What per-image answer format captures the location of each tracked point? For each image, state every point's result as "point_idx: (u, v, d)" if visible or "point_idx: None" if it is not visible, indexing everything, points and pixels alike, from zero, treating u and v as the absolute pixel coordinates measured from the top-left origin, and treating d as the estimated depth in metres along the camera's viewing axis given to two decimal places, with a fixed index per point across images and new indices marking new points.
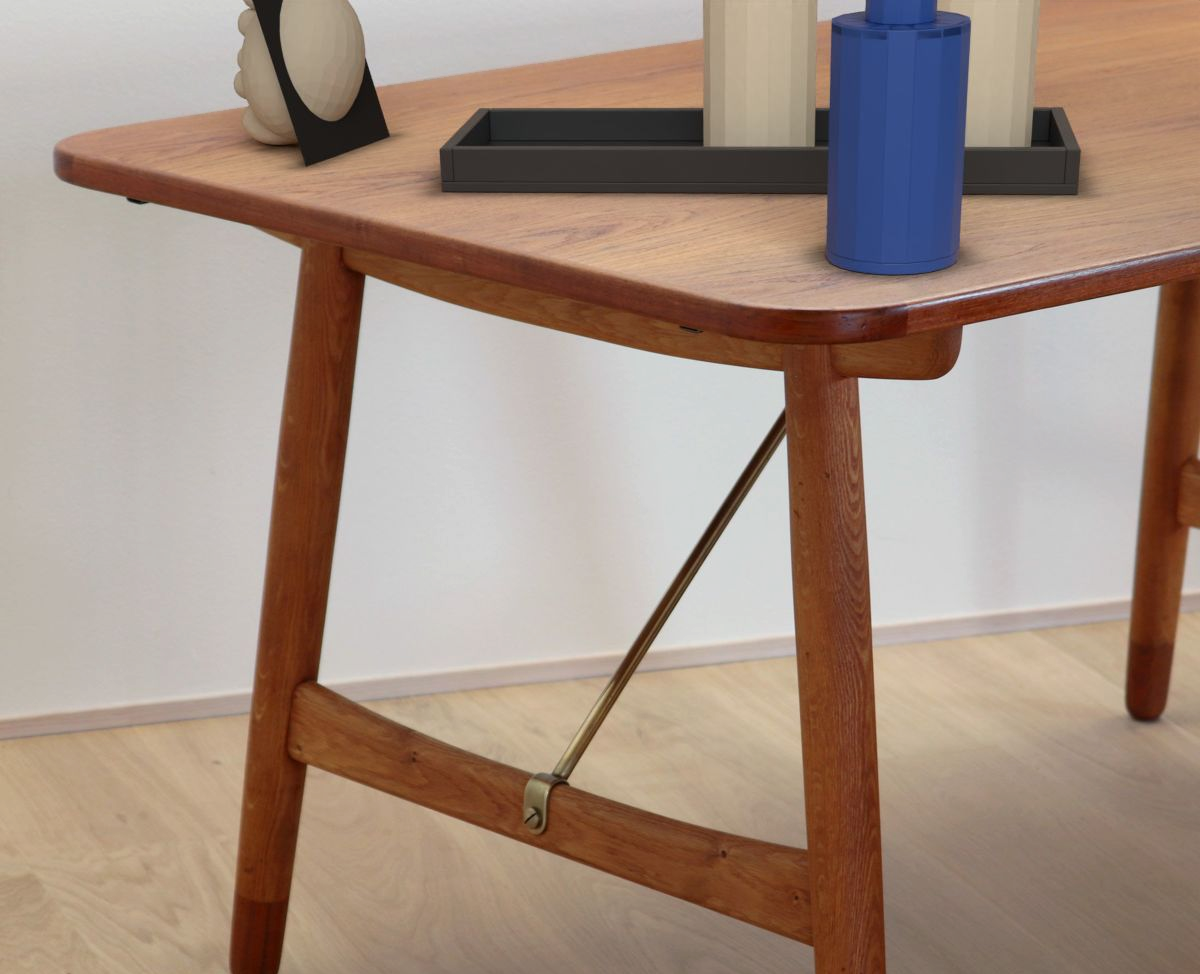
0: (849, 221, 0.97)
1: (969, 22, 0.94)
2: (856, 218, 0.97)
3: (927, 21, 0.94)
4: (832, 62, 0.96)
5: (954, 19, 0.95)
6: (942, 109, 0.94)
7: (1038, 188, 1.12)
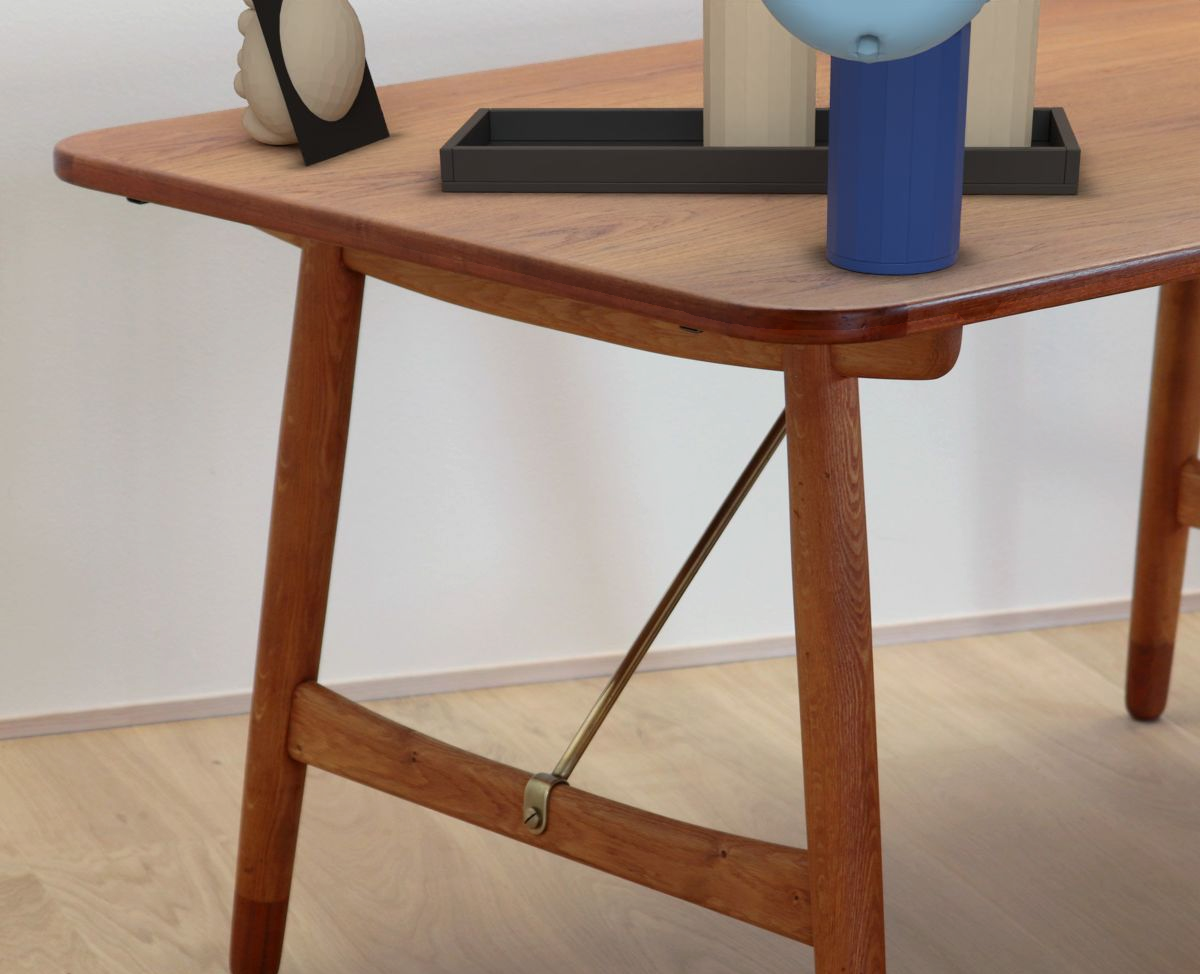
0: (849, 221, 0.97)
1: (969, 22, 0.94)
2: (856, 218, 0.97)
3: None
4: (832, 62, 0.96)
5: None
6: (942, 109, 0.94)
7: (1038, 188, 1.12)
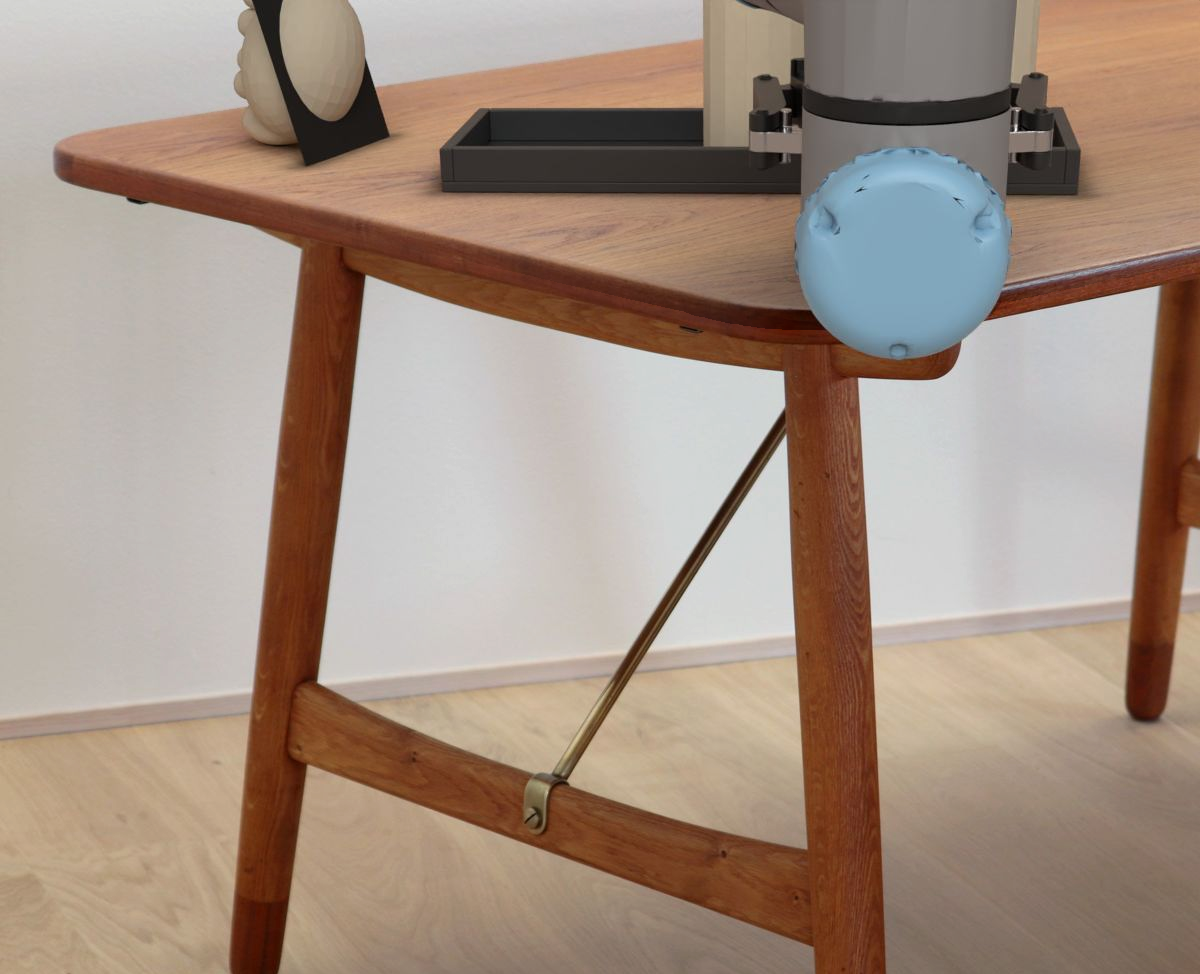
0: None
1: None
2: None
3: None
4: None
5: None
6: None
7: (1038, 188, 1.12)
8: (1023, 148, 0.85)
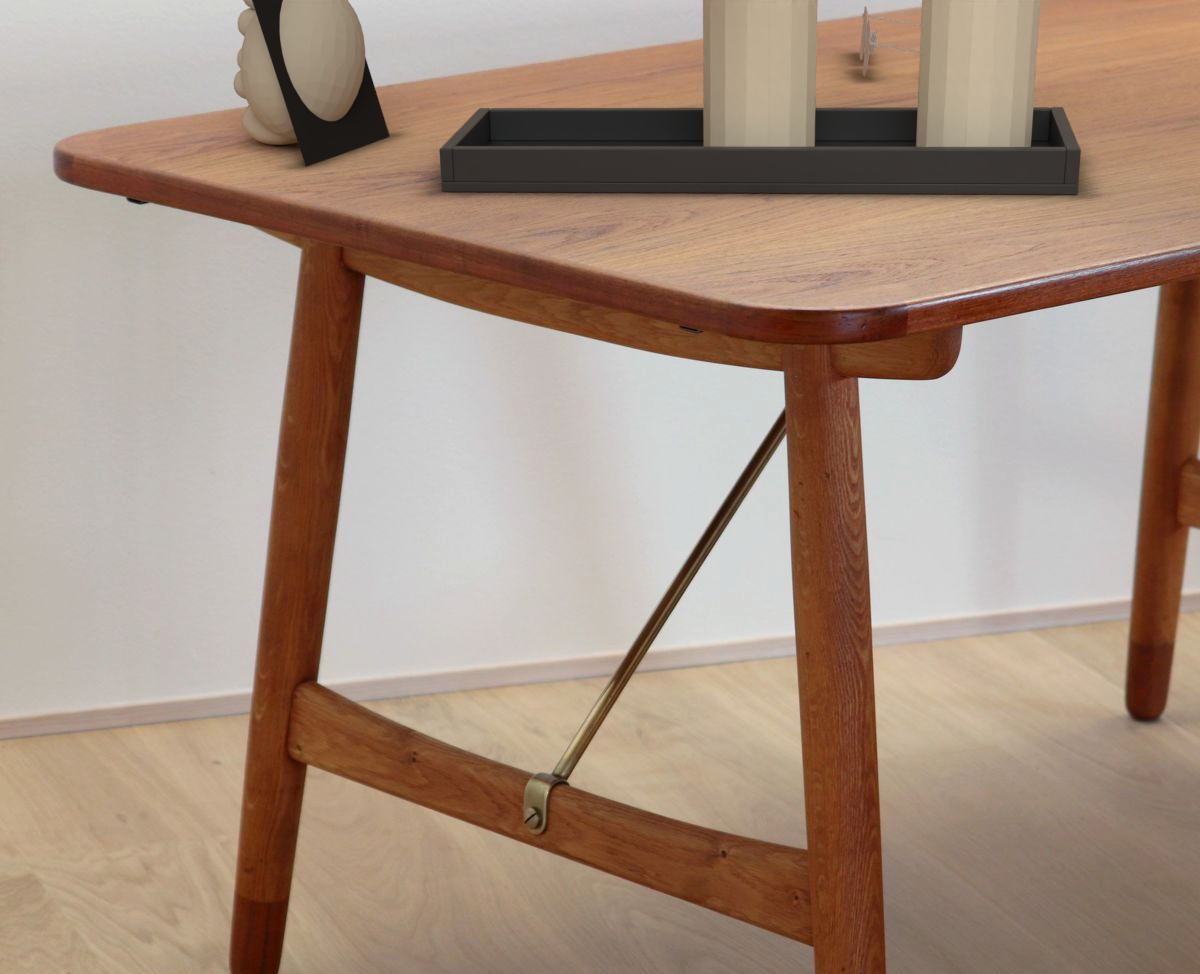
0: None
1: None
2: None
3: None
4: None
5: None
6: None
7: (1038, 188, 1.12)
8: None
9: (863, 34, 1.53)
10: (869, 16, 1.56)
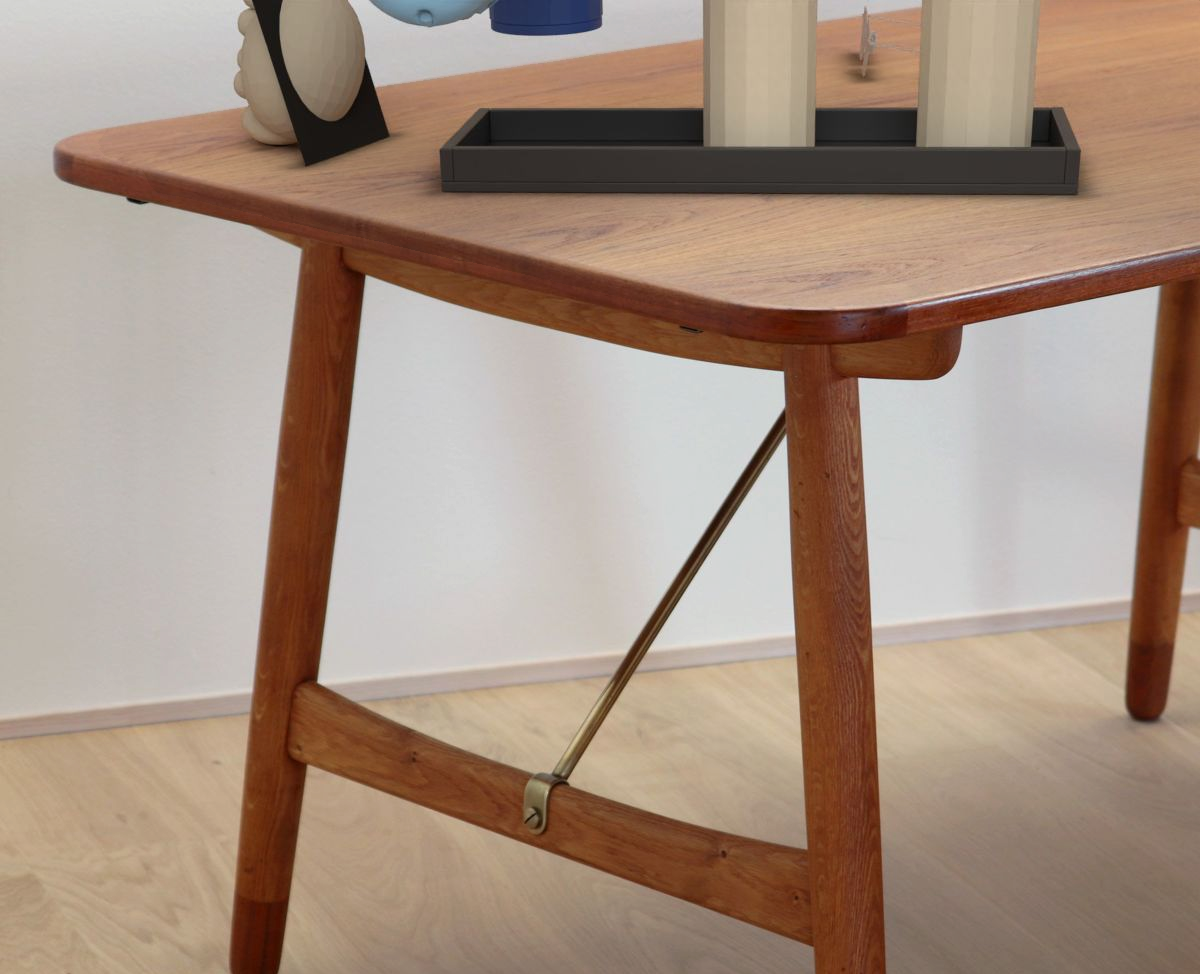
0: None
1: None
2: None
3: None
4: None
5: None
6: None
7: (1038, 188, 1.12)
8: None
9: (863, 34, 1.53)
10: (869, 16, 1.56)
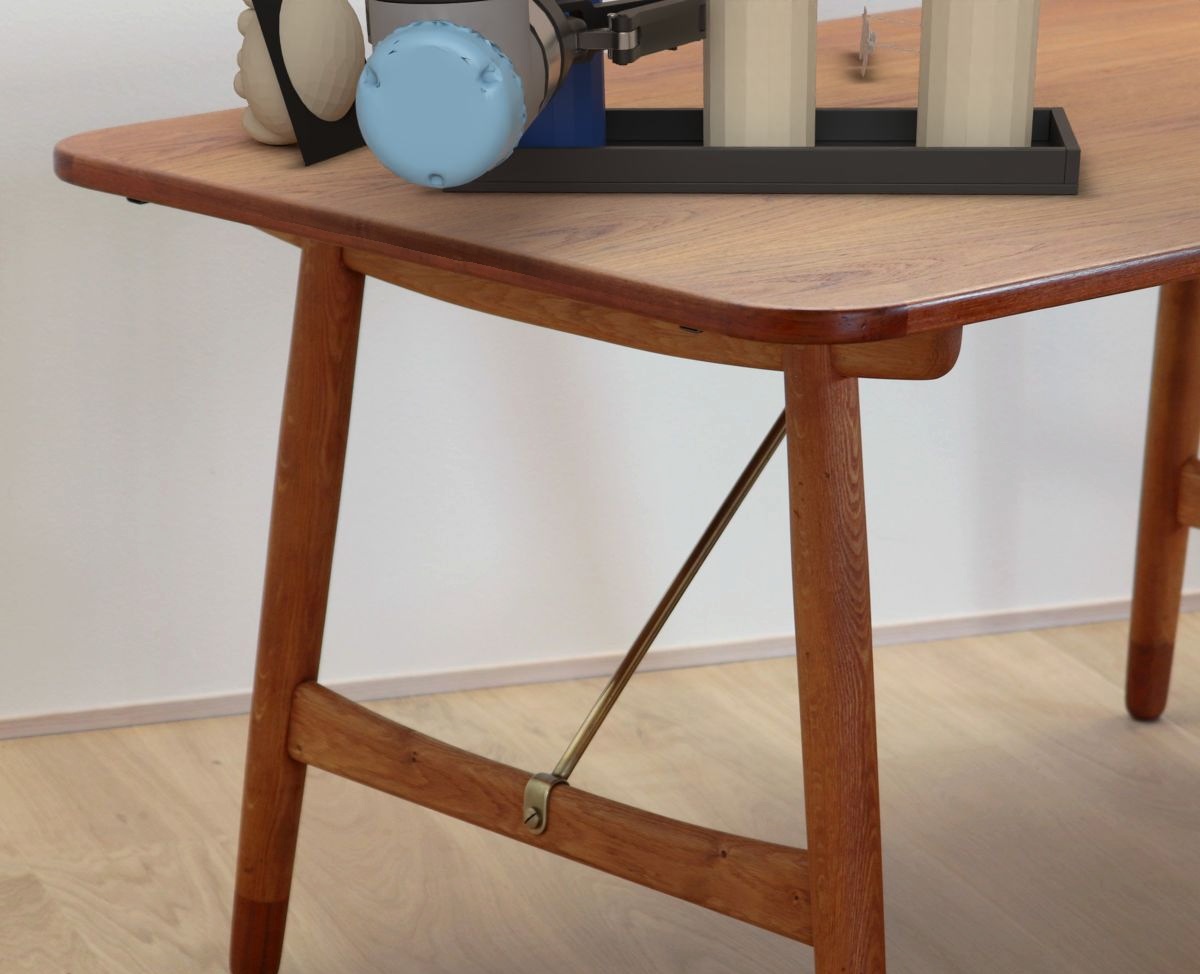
0: None
1: None
2: None
3: None
4: None
5: None
6: None
7: (1038, 188, 1.12)
8: (606, 46, 1.05)
9: None
10: (869, 16, 1.56)
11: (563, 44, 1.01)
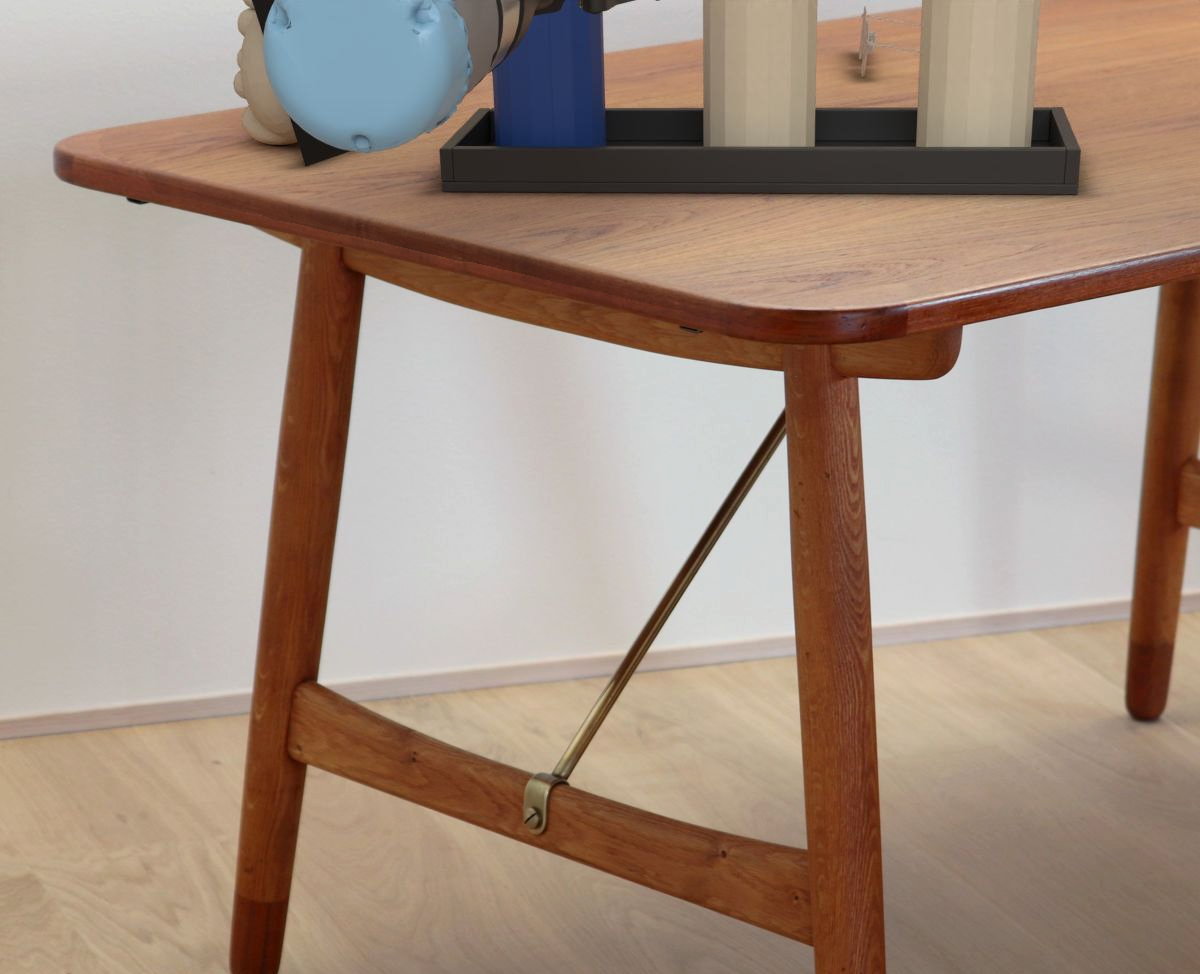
0: (507, 127, 1.18)
1: None
2: (512, 124, 1.18)
3: None
4: None
5: None
6: (574, 32, 1.15)
7: (1038, 188, 1.12)
8: None
9: (862, 34, 1.53)
10: (869, 16, 1.56)
11: None
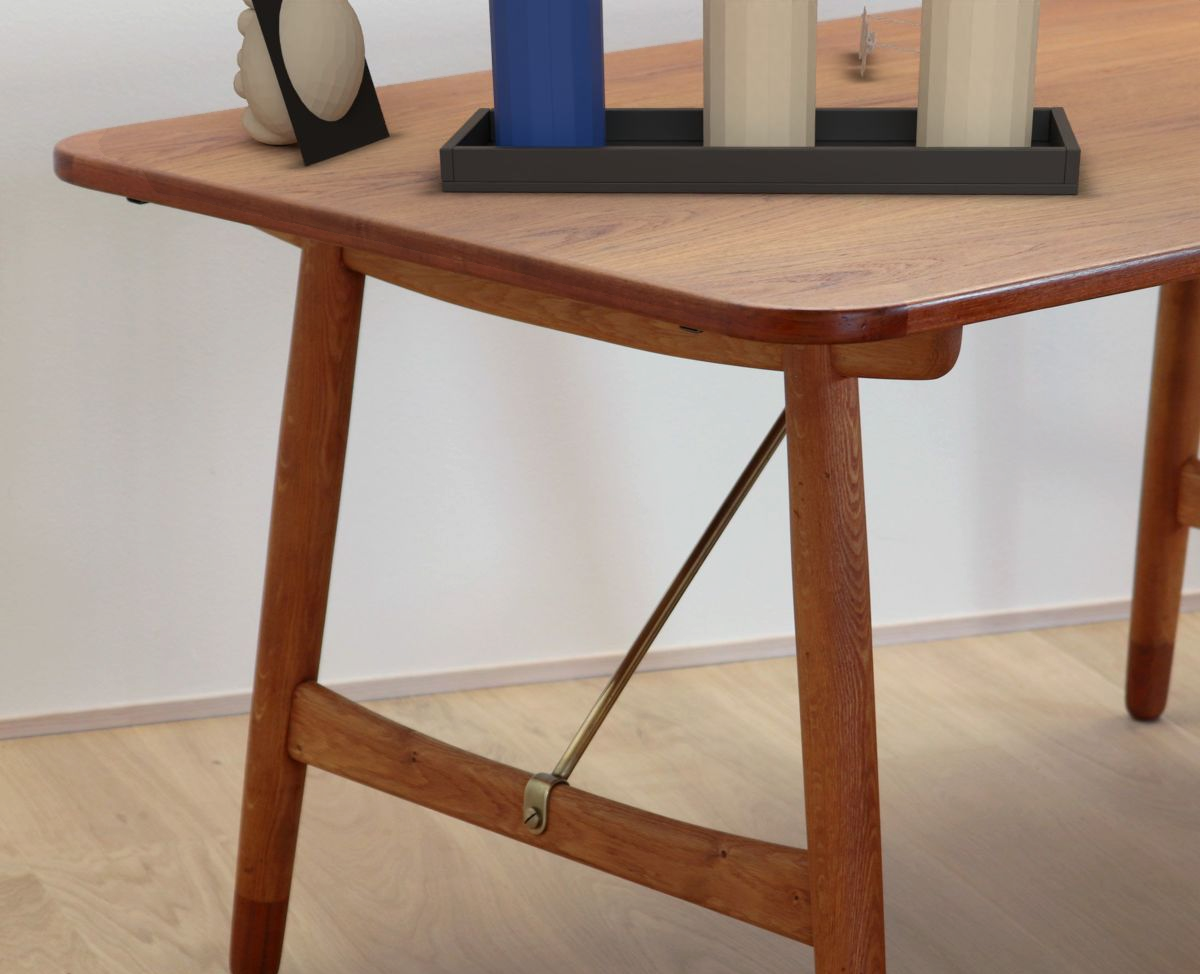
0: (507, 127, 1.18)
1: None
2: (512, 124, 1.18)
3: None
4: None
5: None
6: (574, 32, 1.15)
7: (1038, 188, 1.12)
8: None
9: (862, 34, 1.53)
10: (868, 16, 1.56)
11: None
